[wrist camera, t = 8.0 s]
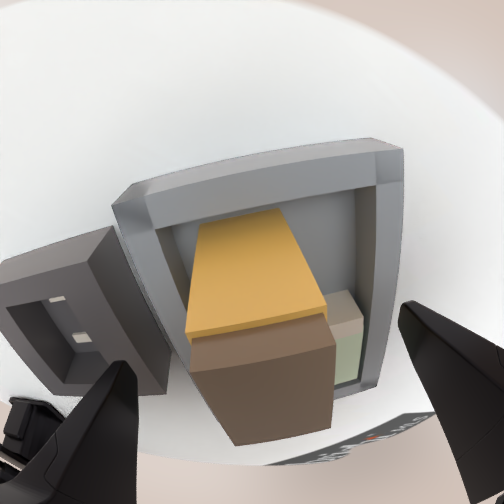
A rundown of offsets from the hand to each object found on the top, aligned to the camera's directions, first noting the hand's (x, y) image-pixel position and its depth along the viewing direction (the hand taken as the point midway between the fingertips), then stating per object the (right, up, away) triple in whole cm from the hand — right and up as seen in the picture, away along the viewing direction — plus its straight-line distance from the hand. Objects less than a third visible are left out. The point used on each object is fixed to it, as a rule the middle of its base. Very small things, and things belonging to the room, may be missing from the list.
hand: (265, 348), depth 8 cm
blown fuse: (-1, +2, +4) cm, 5 cm away
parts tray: (+1, +1, +6) cm, 6 cm away
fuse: (+3, -2, +7) cm, 8 cm away
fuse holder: (-10, 0, +5) cm, 11 cm away
